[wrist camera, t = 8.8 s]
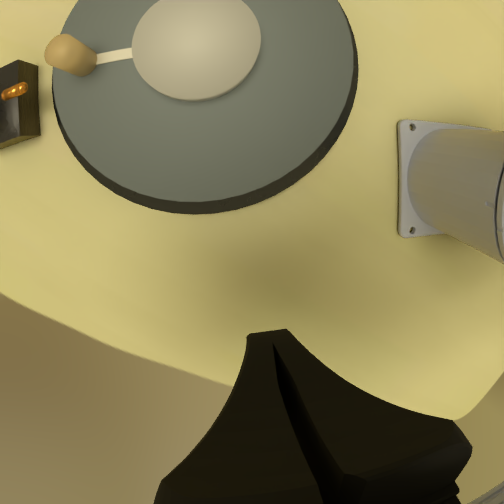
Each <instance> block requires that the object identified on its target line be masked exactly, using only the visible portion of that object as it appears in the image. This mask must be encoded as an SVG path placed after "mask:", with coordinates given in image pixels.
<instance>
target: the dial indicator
mask: <svg viewBox="0 0 504 504" xmlns="http://www.w3.org/2000/svg"><path fill="white" fill-rule="evenodd" d="M37 136H40V124H39V107H38V66H36V65H33V64H31V63H28V62H24V61H21V60H16V61H14V62H12V63H10V64H8V65H6V66H4V67H2V68H0V149H3V148H5V147H8V146H11V145H13V144H16V143H19V142H22V141H25V140H28V139H31V138H34V137H37Z"/></svg>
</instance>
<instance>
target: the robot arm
mask: <svg viewBox="0 0 504 504" xmlns="http://www.w3.org/2000/svg"><path fill="white" fill-rule="evenodd" d="M410 124H411V125H412V127H413V129H412V131H411V130H410V128H409V126H410ZM397 127H398V147H399V224H398V233H399V235H400V236H402V237H403V238H410V237H419V236H428V235H436V234H445V233H446V234H448V235H450V236H452V237H454V238H456V239H458V240H460V241H462V242H464V243H465V244H467V245H469V246H471V247H473V248H475V249H477V250H479V251H481V252H483V253H484V254H486V255H488V256H490V257H492V258H494V259H496V260H497V261H499V262H501V263H503V264H504V131H492V130H491V129H485V128H479V127H472V126H465V125H457V124H449V123H440V122H430V121H419V120H407V119H405V120H400V121H399V122H398V126H397ZM411 227H413V230H412V232H410V228H411ZM246 338H247V344H246V351H245V355H244V359H243V362H242V366H241V369H240V372H239V375H238V377H237V380H236V382H235V385H234V387H233V389H232V392H231V394H230V396H229V398H228V400H227V402H226V404H225V406H224V407H223V409H222V411H221V412H220V414H219V416H218V417H217V419H216V420H215V422H214V423H213V425H212V427H211V428H210V429H209V431H208V432H207V433H206V435H205V436H204V437H203V438H202V440H201V441H200V442H199V443H198V444H197V446H196V447H195V448H194V449H193V450H192V451H191V452H190V454H189V455H188V456H187V457H186V458H185V459H184V460H183V461H182V462H181V463H180V464H179V465H178V466H177V467H176V468H175V469H173V470H172V471H171V472H170V473H169V474H168V475H167V476H166V477H165V478H163V479H162V481H161V483H160V485H159V488H158V491H157V493H156V497H155V500H154V504H461V503H460V501H459V499H458V498H457V496H456V495H457V494H458V493H459V488H458V486H457V484H456V483H455V480H456V478H457V477H458V476H459V474H460V473H461V471H462V470H463V468H464V467H465V465H466V464H467V462H468V460H469V459H470V457H471V454H472V446H471V444H470V443H469V441H468V440H467V438H466V437H465V435H464V434H463V432H462V431H461V430H460V428H459V427H458V426H457V425H456V424H455V423H454V422H453V420H449V419H444V418H439V417H434V416H430V415H425V414H421V413H418V412H414V411H411V410H408V409H405V408H402V407H399V406H396V405H394V404H391V403H389V402H386V401H384V400H382V399H379V398H377V397H375V396H373V395H371V394H369V393H367V392H365V391H363V390H361V389H359V388H358V387H356V386H354V385H353V384H351V383H349V382H347V381H346V380H344V379H343V378H342V377H340V376H339V375H337V374H336V373H335V372H333V371H332V370H331V369H329V368H328V367H327V366H325V365H324V364H323V363H322V362H321V361H319V360H318V359H317V358H316V357H315V356H314V355H313V354H311V353H310V352H309V351H308V350H307V349H306V348H305V347H304V346H303V345H302V344H301V343H300V342H299V341H298V340H297V339H296V338H295V337H294V336H293V335H292V334H291V333H290V331H288V330H287V329H281V330H274V331H266V332H259V333H251V334H249V335H248V336H247V337H246ZM468 504H504V481H503V482H502V483H500V484H499V485H497V486H496V487H494V488H493V489H491V490H489V491H488V492H486V493H485V494H483V495H482V496H480V497H478V498H477V499H475V500H473V501H472V502H470V503H468Z"/></svg>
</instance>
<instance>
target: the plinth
mask: <svg viewBox="0 0 504 504" xmlns="http://www.w3.org/2000/svg"><path fill="white" fill-rule="evenodd" d="M337 1H338V0H337ZM338 3H339V2H338ZM339 5H340V4H339ZM340 7H341V5H340ZM341 9H342V7H341ZM342 11H343V9H342ZM343 13H344V11H343ZM344 15H345V13H344ZM345 18H346V20H347V24H348V27H349V30H350V34H351V39H352V46H353V74H352V81H351V87H350V91H349V94H348V97H347V100H346V103H345V106H344V108H343V110H342V112H341V114H340V116H339V118H338V121H337V122H336V124H335V125H334V127H333V128H332V130H331V131H330V133H329V134H328V136H327V138H326V139H325V140H324V141H323V142H322V143H321V144H320V146H319V147H318V148H317V149H316V150H315V151H314V152H313V153H312V154H311V155H310V156H309V157H308V158H307V159H306V160H304V161H303V162H302V163H301V164H300V165H299V166H298V167H296V168H295V169H293V170H292V171H290V172H289V173H287V174H286V175H284V176H283V177H281V178H279V179H277V180H275V181H274V182H272V183H270V184H268V185H266V186H264V187H262V188H259V189H256V190H253V191H251V192H248V193H245V194H243V195H239V196H234V197H230V198H226V199H222V200H212V201H204V202H179V201H171V200H164V199H158V198H154V197H151V196H147V195H143V194H140V193H137V192H135V191H132V190H130V189H128V188H125V187H123V186H121V185H119V184H117V183H116V182H114V181H112V180H111V179H109V178H107V177H106V176H104V175H103V174H102V173H101V172H99V171H98V170H97V169H95V168H94V167H93V166H92V165H91V164H90V163H89V162H88V161H87V160H86V159H85V158H84V157H83V156H82V155H81V154H80V153H79V151H78V150H77V149H76V147H75V146H74V144H73V143H72V141H71V140H70V138H69V137H68V135H67V133H66V131H65V129H64V127H63V125H62V123H61V120H60V117H59V114H58V111H57V108H56V104H55V98H54V91H53V75H52V94H53V104H54V109H55V113H56V117H57V121H58V125H59V127H60V129H61V132H62V134H63V137H64V139H65V141H66V143H67V144H68V146H69V148H70V150H71V151H72V153H73V154H74V156H75V157H76V159H77V160H78V161H79V162H80V163H81V165H82V166H83V167H84V168H85V170H86V171H88V172H89V173H90V174H91V175H92V176H93V177H94V178H95V179H96V180H97V181H98V182H100V183H101V184H102V185H104V186H105V187H107V188H108V189H110V190H111V191H113V192H114V193H115V194H117V195H119V196H121V197H123V198H125V199H127V200H129V201H131V202H134V203H136V204H139V205H142V206H145V207H148V208H151V209H155V210H160V211H165V212H170V213H180V214H213V213H220V212H225V211H231V210H236V209H240V208H243V207H246V206H250V205H253V204H256V203H258V202H261V201H263V200H265V199H268V198H270V197H272V196H274V195H276V194H278V193H280V192H281V191H283V190H285V189H286V188H288V187H290V186H291V185H293V184H294V183H296V182H297V181H298V180H300V179H301V178H302V177H303V176H305V175H306V174H307V173H309V172H310V171H311V170H312V169H313V168H314V167H315V166H316V165H317V164H318V163H319V162H320V161H321V160H322V159H323V158H324V157H325V155H326V154H327V153H328V151H329V150H330V149H331V147H332V146H333V145H334V143H335V142H336V141H337V139H338V137H339V135H340V134H341V132H342V130H343V128H344V126H345V125H346V122H347V120H348V117H349V115H350V112H351V110H352V107H353V103H354V99H355V94H356V90H357V82H358V55H357V48H356V44H355V39H354V35H353V32H352V29H351V26H350V24H349V21H348V18H347V16H346V15H345Z"/></svg>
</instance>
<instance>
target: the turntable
mask: <svg viewBox="0 0 504 504" xmlns="http://www.w3.org/2000/svg"><path fill="white" fill-rule="evenodd" d="M45 60H46V62H47V63H48V64H49V65H51V66H53V91H54V98H55V104H56V108H57V111H58V114H59V117H60V120H61V123H62V125H63V127H64V129H65V131H66V133H67V135H68V137H69V138H70V140H71V141H72V143H73V144H74V146H75V147H76V149H77V150H78V151H79V153H80V154H81V155H82V156H83V157H84V158H85V159H86V160H87V161H88V162H89V163H90V164H91V165H92V166H93V167H94V168H95V169H97V170H98V171H99V172H101V173H102V174H103V175H104V176H106V177H107V178H109V179H111V180H112V181H114V182H116V183H117V184H119V185H121V186H123V187H125V188H128V189H130V190H132V191H135V192H137V193H140V194H143V195H147V196H151V197H154V198H158V199H164V200H171V201H179V202H204V201H212V200H222V199H226V198H230V197H234V196H239V195H243V194H245V193H248V192H251V191H253V190H256V189H259V188H262V187H264V186H266V185H268V184H270V183H272V182H274V181H275V180H277V179H279V178H281V177H283V176H284V175H286V174H287V173H289V172H290V171H292V170H293V169H295V168H296V167H298V166H299V165H300V164H301V163H302V162H303V161H304V160H306V159H307V158H308V157H309V156H310V155H311V154H312V153H313V152H314V151H315V150H316V149H317V148H318V147H319V146H320V144H321V143H322V142H323V141H324V140H325V139H326V138H327V136H328V134H329V133H330V131H331V130H332V128H333V127H334V125H335V124H336V122H337V121H338V118H339V116H340V114H341V112H342V110H343V108H344V106H345V103H346V100H347V97H348V94H349V91H350V87H351V81H352V74H353V46H352V39H351V34H350V30H349V27H348V24H347V20H346V18H345V15H344V13H343V11H342V9H341V7H340V5H339V3H338V1H337V0H78V2H77V3H76V4H75V6H74V8H73V9H72V11H71V13H70V15H69V16H68V18H67V20H66V22H65V25H64V27H63V29H62V32H61V34H60V35H58V36H56V37H54V38H53V39H52V40H51V41H50V42H49V44H48V45H47V47H46V50H45Z"/></svg>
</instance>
